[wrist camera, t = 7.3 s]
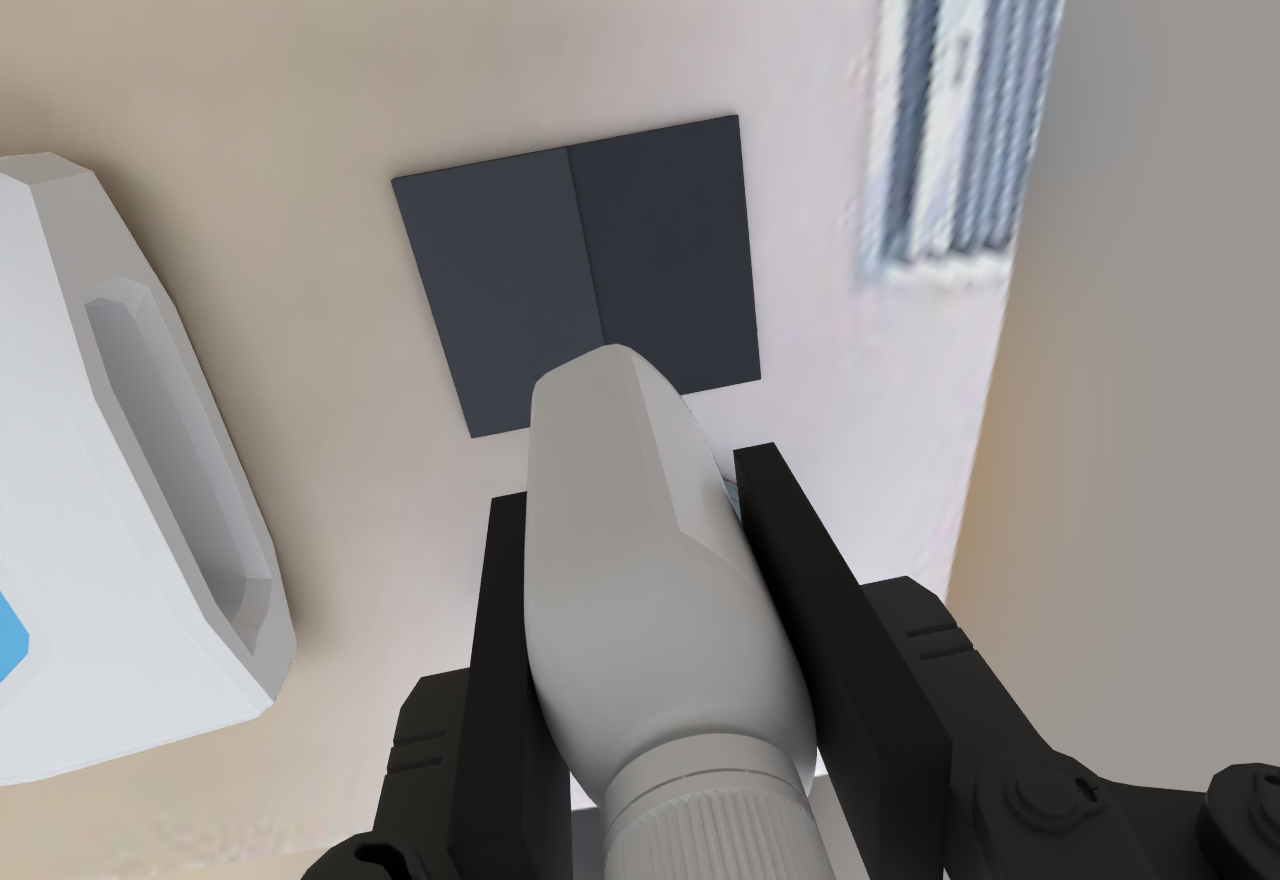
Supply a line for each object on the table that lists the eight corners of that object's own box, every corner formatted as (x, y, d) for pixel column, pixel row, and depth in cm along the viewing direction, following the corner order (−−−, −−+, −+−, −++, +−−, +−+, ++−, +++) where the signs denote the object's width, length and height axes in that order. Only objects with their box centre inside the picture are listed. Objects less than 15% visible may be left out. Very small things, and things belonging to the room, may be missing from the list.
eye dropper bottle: (739, 340, 15) (1180, 968, 5) (708, 554, 18) (944, 1273, 7) (533, 333, 15) (488, 1034, 4) (531, 555, 17) (502, 1342, 7)
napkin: (393, 178, 24) (390, 180, 24) (736, 114, 25) (740, 114, 24) (472, 433, 29) (471, 438, 29) (759, 376, 29) (762, 381, 29)
